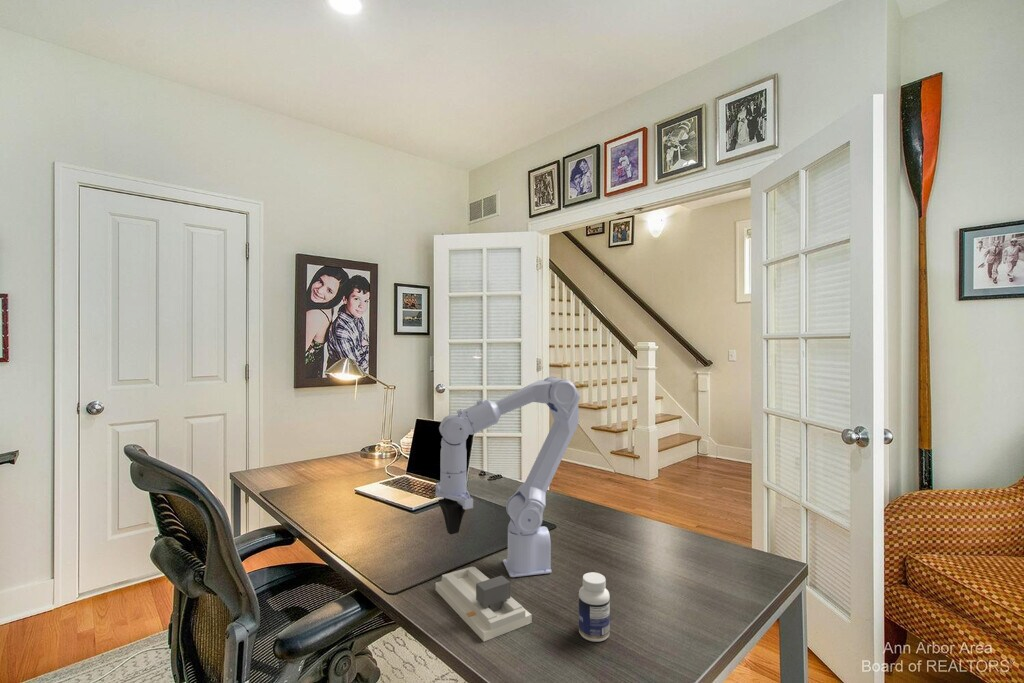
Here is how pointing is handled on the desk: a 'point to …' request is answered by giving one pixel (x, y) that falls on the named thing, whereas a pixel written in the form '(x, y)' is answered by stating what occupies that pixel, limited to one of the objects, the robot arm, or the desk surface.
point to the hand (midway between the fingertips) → (453, 532)
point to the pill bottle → (594, 608)
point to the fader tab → (493, 592)
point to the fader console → (482, 620)
